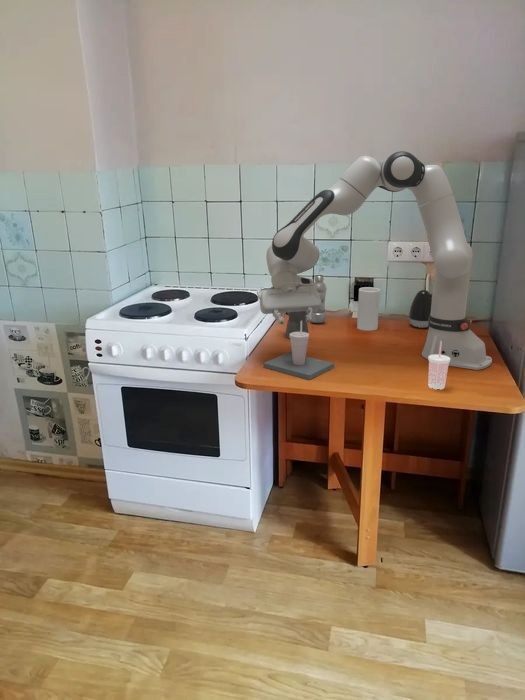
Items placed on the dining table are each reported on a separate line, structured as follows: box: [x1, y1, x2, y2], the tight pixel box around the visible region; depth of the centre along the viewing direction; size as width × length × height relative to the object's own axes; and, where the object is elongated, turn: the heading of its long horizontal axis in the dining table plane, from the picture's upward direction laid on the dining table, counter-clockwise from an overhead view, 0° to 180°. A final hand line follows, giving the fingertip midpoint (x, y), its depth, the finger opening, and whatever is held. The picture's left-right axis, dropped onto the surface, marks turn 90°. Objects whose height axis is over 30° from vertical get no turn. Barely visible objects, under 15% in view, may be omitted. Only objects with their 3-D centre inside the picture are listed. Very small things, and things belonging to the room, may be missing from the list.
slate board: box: [263, 352, 335, 381], centre depth 174 cm, size 18×14×2 cm
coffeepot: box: [284, 311, 310, 340], centre depth 205 cm, size 15×9×18 cm, turn 36°
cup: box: [356, 286, 381, 332], centre depth 216 cm, size 8×8×16 cm
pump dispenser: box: [408, 289, 433, 329], centre depth 219 cm, size 10×10×15 cm
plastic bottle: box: [311, 274, 327, 324], centre depth 223 cm, size 6×7×20 cm
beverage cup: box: [427, 341, 450, 390], centre depth 156 cm, size 6×6×14 cm
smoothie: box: [289, 321, 310, 365], centre depth 171 cm, size 6×6×14 cm
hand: (295, 322), depth 173 cm, fingers open, 8 cm apart
